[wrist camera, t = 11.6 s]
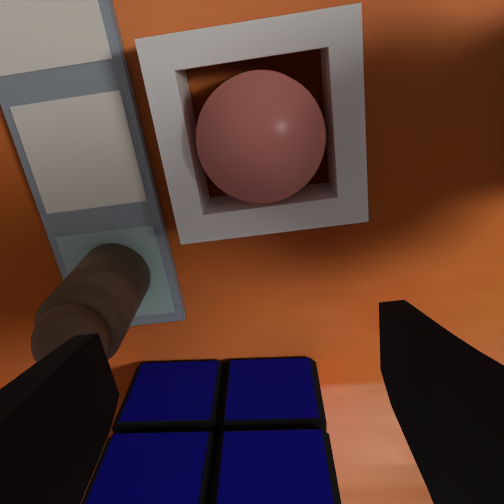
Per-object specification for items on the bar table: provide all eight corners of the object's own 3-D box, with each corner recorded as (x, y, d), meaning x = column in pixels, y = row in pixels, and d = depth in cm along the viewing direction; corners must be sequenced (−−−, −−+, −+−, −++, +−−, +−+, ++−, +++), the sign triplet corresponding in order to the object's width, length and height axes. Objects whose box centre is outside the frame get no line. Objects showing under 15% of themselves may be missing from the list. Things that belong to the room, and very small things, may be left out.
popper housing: (348, 10, 17) (361, 2, 15) (356, 203, 20) (368, 221, 18) (151, 42, 18) (134, 39, 15) (189, 224, 21) (180, 244, 18)
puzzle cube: (315, 353, 24) (348, 535, 15) (314, 479, 28) (340, 684, 19) (137, 359, 24) (60, 539, 15) (162, 482, 28) (113, 684, 19)
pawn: (141, 239, 20) (88, 318, 14) (157, 300, 22) (115, 396, 16) (73, 247, 21) (-9, 327, 14) (92, 307, 22) (26, 404, 16)
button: (311, 60, 17) (320, 60, 15) (320, 176, 19) (330, 194, 17) (196, 78, 18) (183, 81, 15) (216, 190, 20) (208, 210, 17)
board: (87, -104, 16) (80, -110, 15) (186, 314, 23) (184, 321, 22) (-57, -77, 16) (-68, -82, 16) (85, 325, 23) (80, 332, 23)
